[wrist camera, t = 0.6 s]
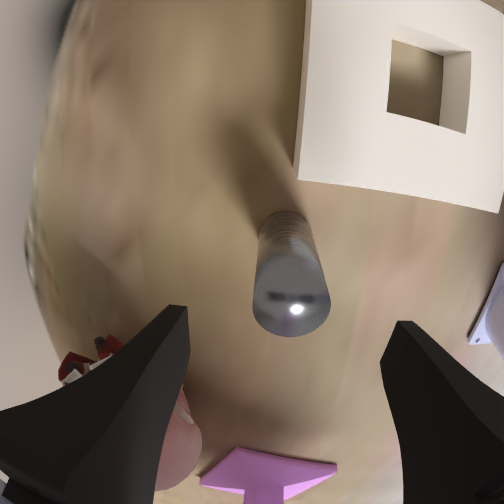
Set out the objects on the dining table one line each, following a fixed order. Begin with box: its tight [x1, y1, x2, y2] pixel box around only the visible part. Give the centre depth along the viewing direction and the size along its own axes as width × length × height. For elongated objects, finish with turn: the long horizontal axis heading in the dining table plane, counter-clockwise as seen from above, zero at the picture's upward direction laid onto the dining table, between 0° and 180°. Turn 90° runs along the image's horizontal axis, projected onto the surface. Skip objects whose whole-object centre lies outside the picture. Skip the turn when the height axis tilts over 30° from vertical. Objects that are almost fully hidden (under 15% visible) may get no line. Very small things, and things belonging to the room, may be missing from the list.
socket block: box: [293, 0, 504, 214], centre depth 12 cm, size 12×12×3 cm
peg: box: [253, 211, 331, 337], centre depth 15 cm, size 3×3×7 cm
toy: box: [58, 334, 202, 491], centre depth 20 cm, size 12×11×15 cm
